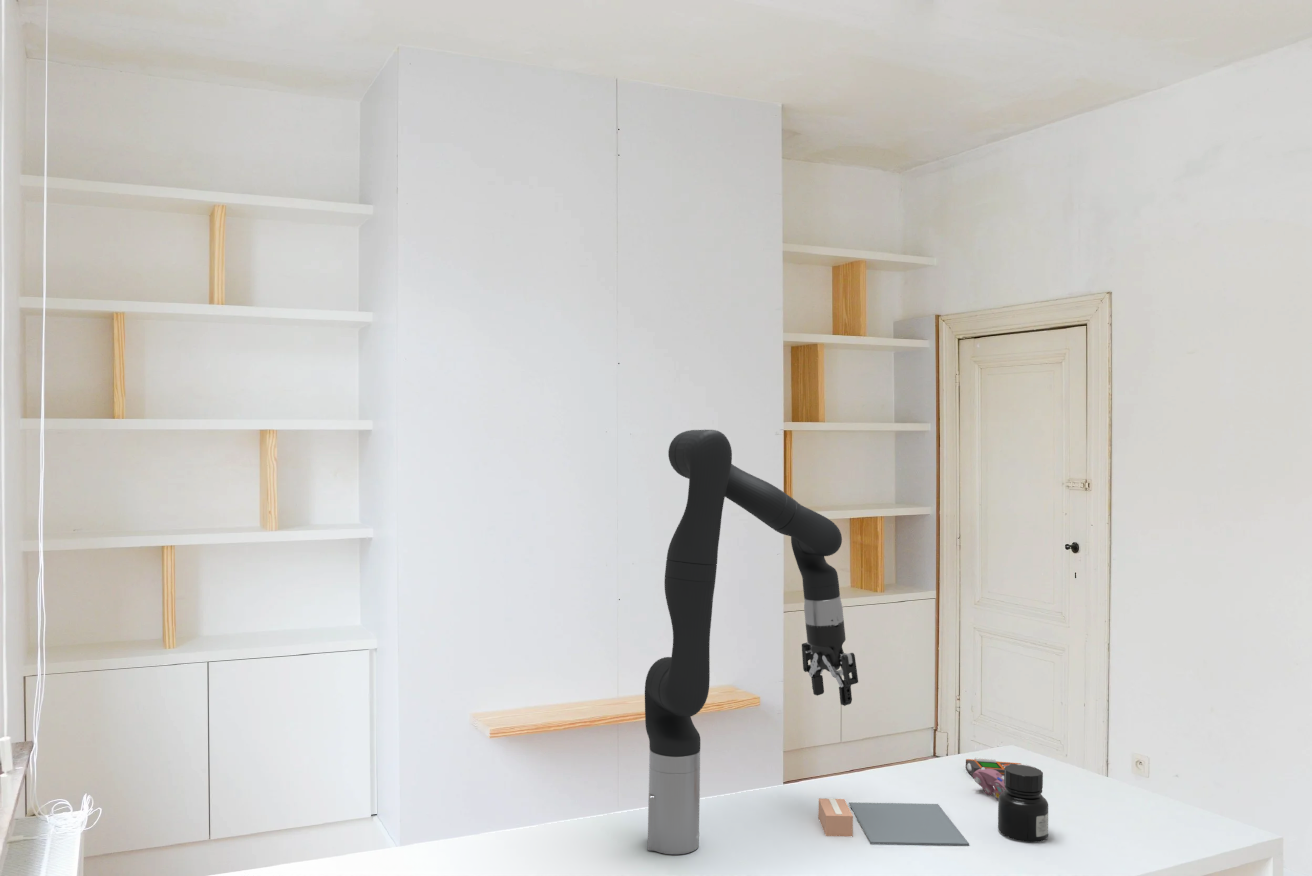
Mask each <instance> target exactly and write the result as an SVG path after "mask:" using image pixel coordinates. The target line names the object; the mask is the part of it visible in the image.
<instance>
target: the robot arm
mask: <svg viewBox="0 0 1312 876" xmlns="http://www.w3.org/2000/svg"><path fill="white" fill-rule="evenodd" d="M730 443H731V442H730V441H729V439H728V438H727V436H726V434H724V433H723V432H721V431H719V430H716V429H691V430H685V431H682V432H681V433H678V434H677V435H675V436H674V437H673V439H672V440H671V442H670V443H669V446H668V450H667V452H668V453H667V454H668V460H669V463H670V465H671V467H672V469H673V470H674V471H675V472H676V473H677V474H678V475H680V476H681V477H683V478H686V479H689V481H688V490H687V491H688V493H687V500H686V501H687V502H686V506H685V509H684V512H683V514H682V517H681V518H680V521H679V523H678V524H677V525H678V526H677V527H676V529H675V531H674V533H673V535H672V537H671V540H670V543H669V546H668V549H667V555H666V560H665V572H664V594H665V595H664V596H665V600H666V605H667V609H668V610H667V611H668V613H669V617H670V622H671V627H672V649H671V656H665V657H664V656H663V657H661V658H659V659H657V660H656V661H655V662H653V664H652V665H651V666H650V668H649V670H648V672H647V675H646V677H645V683H644V684H645V685H644V719H645V720H644V721H645V730H646V733H647V737H648V740H649V741H648V743H649V745H648V747H649V763H648V764H649V765H648V767H649V768H648V771H649V773H648V801H647V802H648V807H647V808H648V809H647V812H648V813H647V814H648V815H647V816H648V817H647V851H651V852H652V851H653V852H658V853H660V854H666V855H684V854H689V853H691V852H694V851H695V850H697V849H698V848H699V845H700V797H701V796H700V795H701V794H700V792H701V788H700V787H701V785H700V784H701V782H700V781H701V736H700V733H699V731H698V728H696V726H695V725H694V723H693V720H692V717H694V716H695V715H697V714H698V713H699V712H700V711H701V710H702V709H703V707H705V706H704V705H705V704H706V702H707V699H708V697H709V696H708V695H709V691H710V681H711V679H710V678H711V677H710V673H711V671H710V665H711V664H710V662H711V661H710V658H711V657H710V648H711V647H710V646H711V645H710V642H711V641H710V640H711V627H712V616H713V614H712V613H713V602H714V593H715V587H716V577H717V568H718V567H717V565H718V554H719V552H718V551H719V544H720V535H721V528H722V527H721V525H722V516H723V509H724V502H725V498H726V499H728V500H729V501H731V502H733V503H734V504H735V505H737V506H739V507H740V508H742V509H743V510H745V511H746V512H748V513H749V514H751V515H752V516H754V517H755V518H757V520H759V521H760V522H762V523H764V524H765V525H767V526H768V527H769V528H771V529H773V530H774V531H775V532H777V533H779V534H781V535H785V536H788V537H790V542H791V543H790V544H791V549H792V552H793V555H794V558H795V561H796V564H797V567H798V570H799V572H800V575H801V578H802V589H803V590H802V591H803V598H804V602H803V610H804V611H803V612H804V622H805V631H806V632H805V633H806V641H807V642H804V643H801V657H802V670H803V671H804V673H808V675H809V677H810V678H811V685H812V686H811V688H812V692H813V693H812V694H813V695H814V696H817V697H818V696H820V695H823V694H824V693H825V688H824V677H823V675H822V674H823V672H824V670H826V672H830V674H831V677H833V678H835V680H836V682H837V684H838V691H839V693H838V694H839V702H840V705H842V706H843V707H845V706H849V705H850V704H851V705H852V701H853V697H852V686H853V685H855V684H858V683H859V676H858V669H857V663H856V655H855V653H854V652H850V653H847V652H846V653H845V652H844V649H843V645H844V643H845V641H846V638H847V637H846V628H845V621H844V620H845V619H844V609H843V602H842V601H841V593H840V583H839V581H840V580H839V575H838V571H837V570H836V568H835V567H833V566H832V565H830V564H829V563H828V562H827V560H826V558H825V557H829V556H833V555H834V554H836V553H837V552H838V551H839V550H840V548H841V546H842V542H843V538H842V533H841V530H840V528H839V527H838V525H836V524H835V523H834V522H833V521H832V520H831V519H829V518H827V517H826V516H824V515H822V514H820V513H818V512H816V511H815V510H812V509H810V508H808V507H806V506H803V505H802V504H801V503H799V502H798V501H796V500H795V499H794V498H793V497H792V496H790V495H788V494H787V493H785V491H783V490H781V489H780V488H778V486H777V487H776V486H775V485H774V484H772V483H769V482H767V481H766V480H763V479H762V478H759V477H757V476H754V475H753V474H750V473H748V472H746V471H744V470H743V469H741V468H740V467H737V466H736V465H734V464H733V463H732V462H733V461H732V460H733V450H732V445H731V444H730ZM809 661H810V664H809ZM840 668H841V669H840ZM850 673H851V675H850ZM842 676H843V677H842Z"/></svg>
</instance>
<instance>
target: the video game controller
mask: <svg viewBox="0 0 1312 876" xmlns="http://www.w3.org/2000/svg"><path fill="white" fill-rule="evenodd" d="M972 778H973V779H974V782H975V784H977V785H978V786H979V787H981V788H982V789H983V791H984V792H985V793H986V794H987V795H989V796H992V795H993V794H994V796H995V797H996V798H997V799H998V798H999V795H1000V794H1001V793H1002V792H1004V790H1005V787H1004V785H1005V784H1004V776H1003V775H1001V774H1000V773H999V772H998V771H996V770H993V769H985V768H984V767H982V768H981V769H978V770H977V771H975V772H974V773H973V777H972Z"/></svg>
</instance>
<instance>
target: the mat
mask: <svg viewBox="0 0 1312 876" xmlns="http://www.w3.org/2000/svg"><path fill="white" fill-rule="evenodd" d="M848 804H850V805H849V807H850V809H851V808H852V809H851V811H852V810H853V811H852V812H853V814H854V816H855V818H856V819H857V820H856V821H857V822H858V821H859V822H858V824H859V823H860V824H859V825H860V828H861V829H862V831H863V833H864V835H865V836H866V839H867V840H868V842H869V844H870V845H894V844H897V845H898V846H901V845H903V846H905V845H906V846H910V845H911V846H954V847H955V846H956V847H957V846H958V847H959V846H960V847H968V846H970V843H969V841H968V840H967V839H966V837H964V835H963V834H962V832H961V831H960V830H959V828H958V827H957V826H956V824H954V822H953V821H952V820H951V819H950V817H949V815H948V814H946V812H945V811H944V810H943V809H942V807H941V805H940V804H939V803H910V802H907V803H906V802H905V803H903V802H897V803H896V802H857V801H856V802H849V803H848Z"/></svg>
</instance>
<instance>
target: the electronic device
mask: <svg viewBox="0 0 1312 876" xmlns="http://www.w3.org/2000/svg"><path fill="white" fill-rule="evenodd" d="M1009 765H1025V766H1031V767H1034V768H1036V767H1035V766H1032V765H1029V764H1024V763H1019V762H1008V761H997V760H996V759H993V758H981V757H980V758H978V757H975V758H974V759H972V758H971V759H970V758H966V759H965V769H966V771H967V772H968V773H969V775H971V777H972V778H973V773H974V772H975V771H977V770H978V769H981V768H982V767H984V768H985V769H993V770H996V771H998V772H999V773H1000V774H1001V775H1003V776H1004V768H1005V767H1006V766H1009Z"/></svg>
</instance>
